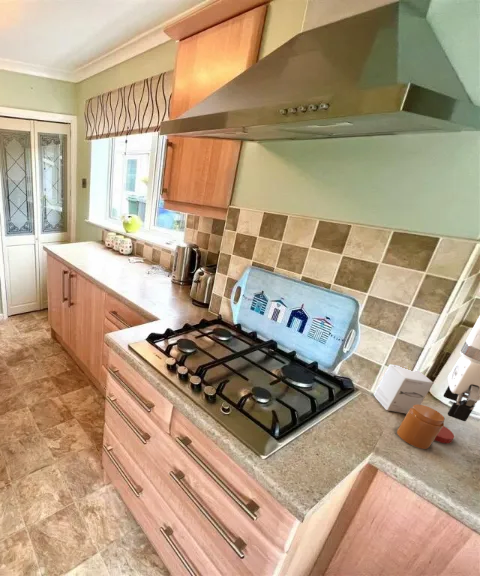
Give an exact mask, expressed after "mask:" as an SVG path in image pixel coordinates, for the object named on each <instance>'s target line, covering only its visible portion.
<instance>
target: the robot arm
mask: <svg viewBox="0 0 480 576" xmlns="http://www.w3.org/2000/svg"><path fill="white" fill-rule="evenodd" d="M459 354H460V356H459V358H458V359H457V361H456V363H455V364H454V365H453V367H452V368H451V370H450V372H449V374H448V375H447V382H448V386H447V388H446V389H445V392H444V393H443V398H445V399H448V400H451V401H454V402H452V404H451V406H450V408H449V410H448V411H447V416H448V417H451V418H453V419H457V420H459V421H462V422H467V420H468V418H469V417H470V415H471V414H472V412H473V410H474V409H475V407H476V404H477V403H478V402H479V401H480V315H479V316H478V317H477V319H476V321H475V323H474V325H473V326H472V329H471V331H470V332H469V334H468V336H467V338H466V340H465V342H464V343H463V346H462V347H461V349H460V351H459ZM463 398H464V399H463Z"/></svg>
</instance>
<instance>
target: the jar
mask: <svg viewBox="0 0 480 576" xmlns="http://www.w3.org/2000/svg"><path fill="white" fill-rule="evenodd" d="M444 422H445V417H444V416H443V414H442V413H441V412H440V411H437V410H436V409H434V408H432V407H429V406H427V405H424V404H420V405H419V404H417V405H413V408H410V409H409V411H408V413H407V414H405V416H404V417H403V420H402V421H401V423H400V425H399V426H398V428H397V430H396V434H397V436H398V437H399V438H400V439H401V440H402V441H404V442H406V443H407V444H409V445H411V446H413V447H415V448H417V449H421V450H429V449H430V447H431V446H432V444H433V443H434V442H435V438H436V436H437V435H438V433H439V432H440V430H441V429H442V427H443V426H445V423H444Z"/></svg>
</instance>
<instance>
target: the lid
mask: <svg viewBox="0 0 480 576" xmlns="http://www.w3.org/2000/svg"><path fill="white" fill-rule="evenodd" d="M454 438H455V434H454V433H453V431H451V429H449V428H447V427H446V426H445V425H444V426H443V427H442V429H441V430H440V432H439V433H438V435H437V436H436V438H435V440H434V442H438V443H441V444H451V443H452V442H453V441H454Z"/></svg>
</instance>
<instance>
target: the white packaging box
mask: <svg viewBox="0 0 480 576" xmlns="http://www.w3.org/2000/svg"><path fill="white" fill-rule="evenodd" d="M400 366H401V365H396V364H391V363H390V364H388V366H387V368H386V370H385V372H384V374H383V375H382V377H381V380H380V381H379V383H378V385H377V387H376V389H375V391H374V393H373V396H374V398H375V399H376V400H377V401H378V402H379V404H380V405H381V406H382V407H383V409H385V410H386V411H389V412H396V413H400V414H405V415H406V414H407V413H408V411H409V409H410V408H413V405H417V404H419V405H422V403H423V401H424V400H425V398H426V396H427V395H428V393H429V392H430V390H431V388H432V387H433V384H434V381H432V380H431V379H430V378H429V377H427V376H426V375H425V374H424V373H422V371H420V370H419V369H417V370H418V371H415V372H413V371H411V370H408V369H405V368H402V367H400Z"/></svg>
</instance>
